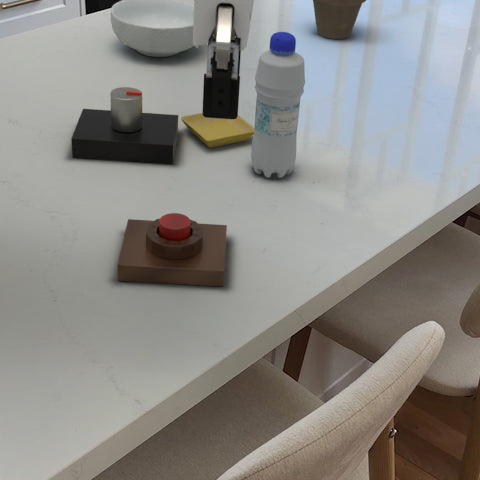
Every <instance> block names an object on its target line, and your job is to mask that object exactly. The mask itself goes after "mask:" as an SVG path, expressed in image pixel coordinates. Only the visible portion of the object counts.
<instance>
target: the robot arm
mask: <svg viewBox="0 0 480 480" xmlns="http://www.w3.org/2000/svg"><path fill="white" fill-rule="evenodd" d="M254 2H255V1H254V0H193V5H194V23H193V45H194V46H193V47H195V48H197V49H200V46H202V47H206V46H207V56H206V57H207V58H206V73H203V87H202V89H203V90H202V91H203V92H202V113H203V116H204V117H206V118H220V119H236V118H237V116H238V115H239V101H240V88H241V87H240V85H241V76H240V73H241V71H240V70H241V56H242V51H243V50H244V49H246V48H247V45H248V39H249V33H250V29H251V22H252V15H253V9H254Z"/></svg>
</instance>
